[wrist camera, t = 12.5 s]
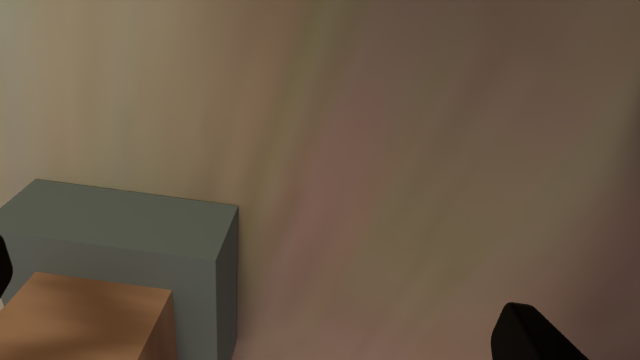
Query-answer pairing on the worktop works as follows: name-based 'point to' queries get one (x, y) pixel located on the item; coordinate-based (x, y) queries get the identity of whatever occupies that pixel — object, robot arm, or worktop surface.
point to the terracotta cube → (87, 321)
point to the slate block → (133, 252)
